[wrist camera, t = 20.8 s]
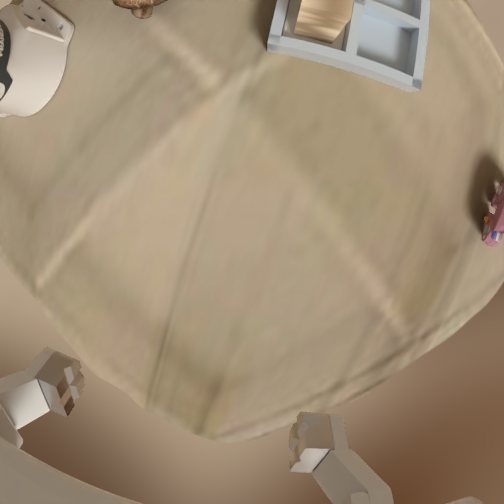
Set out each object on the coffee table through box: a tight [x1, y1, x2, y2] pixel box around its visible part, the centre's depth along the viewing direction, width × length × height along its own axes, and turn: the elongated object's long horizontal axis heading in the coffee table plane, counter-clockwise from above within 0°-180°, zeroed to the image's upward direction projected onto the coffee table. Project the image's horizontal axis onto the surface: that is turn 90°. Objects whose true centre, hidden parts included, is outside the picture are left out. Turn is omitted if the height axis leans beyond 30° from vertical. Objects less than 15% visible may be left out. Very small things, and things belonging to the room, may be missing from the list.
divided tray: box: [267, 0, 430, 93], centre depth 25 cm, size 18×18×4 cm
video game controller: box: [482, 180, 504, 247], centre depth 32 cm, size 10×5×7 cm, turn 164°
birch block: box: [293, 0, 354, 44], centre depth 22 cm, size 4×4×9 cm
